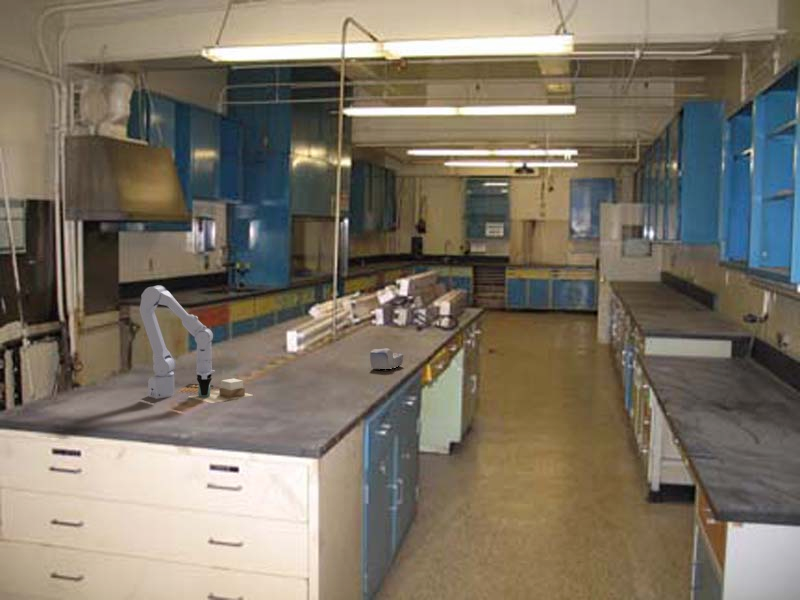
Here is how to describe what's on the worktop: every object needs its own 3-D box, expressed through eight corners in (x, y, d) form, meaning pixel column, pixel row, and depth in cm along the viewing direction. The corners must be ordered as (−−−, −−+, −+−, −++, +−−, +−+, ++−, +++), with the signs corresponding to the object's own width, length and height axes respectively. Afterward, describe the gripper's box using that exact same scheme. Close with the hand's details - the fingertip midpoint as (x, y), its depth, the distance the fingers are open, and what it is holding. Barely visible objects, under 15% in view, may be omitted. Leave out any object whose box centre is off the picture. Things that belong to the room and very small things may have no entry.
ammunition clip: (213, 385, 314) (200, 392, 303) (213, 389, 315) (200, 396, 303) (189, 383, 316) (175, 390, 305) (189, 387, 317) (175, 395, 305)
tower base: (230, 398, 297) (230, 390, 297) (219, 395, 301) (219, 387, 301) (244, 395, 302) (244, 388, 302) (233, 392, 307) (233, 385, 306)
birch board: (212, 405, 288) (212, 403, 288) (187, 398, 298) (187, 396, 298) (253, 397, 303) (253, 395, 303) (229, 390, 314) (229, 388, 313)
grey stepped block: (367, 348, 364) (380, 343, 383) (366, 370, 364) (380, 364, 383) (393, 350, 360) (405, 345, 379) (392, 372, 361) (404, 366, 380)
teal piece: (202, 397, 296) (202, 386, 296) (196, 396, 299) (196, 384, 299) (212, 396, 300) (212, 384, 299) (205, 394, 303) (205, 383, 302)
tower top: (230, 390, 297) (230, 382, 297) (221, 387, 301) (221, 380, 301) (242, 388, 302) (242, 380, 302) (233, 385, 306) (233, 378, 305)
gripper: (215, 362, 292) (215, 397, 293) (214, 356, 306) (214, 389, 307) (196, 363, 290) (196, 398, 292) (196, 356, 304) (196, 390, 306)
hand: (204, 393), depth 299 cm, fingers closed on teal piece, 4 cm apart
